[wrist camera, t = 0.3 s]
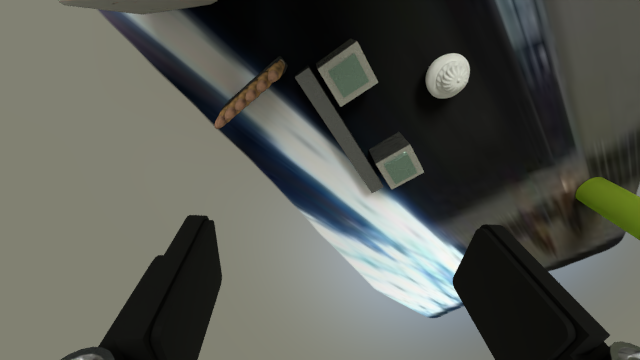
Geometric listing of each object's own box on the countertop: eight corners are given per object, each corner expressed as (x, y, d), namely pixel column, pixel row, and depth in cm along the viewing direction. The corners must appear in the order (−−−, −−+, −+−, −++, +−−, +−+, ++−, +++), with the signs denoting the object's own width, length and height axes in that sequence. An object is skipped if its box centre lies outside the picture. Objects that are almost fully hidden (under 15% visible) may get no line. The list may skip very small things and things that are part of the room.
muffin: (431, 44, 40) (454, 48, 34) (465, 59, 41) (492, 66, 35) (410, 85, 42) (427, 95, 36) (442, 98, 44) (464, 110, 38)
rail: (295, 73, 41) (294, 81, 35) (348, 35, 38) (356, 37, 33) (368, 184, 52) (376, 203, 46) (413, 159, 49) (426, 176, 44)
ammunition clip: (237, 109, 43) (216, 138, 33) (228, 100, 42) (204, 126, 32) (288, 65, 40) (283, 81, 30) (280, 55, 39) (271, 67, 29)
